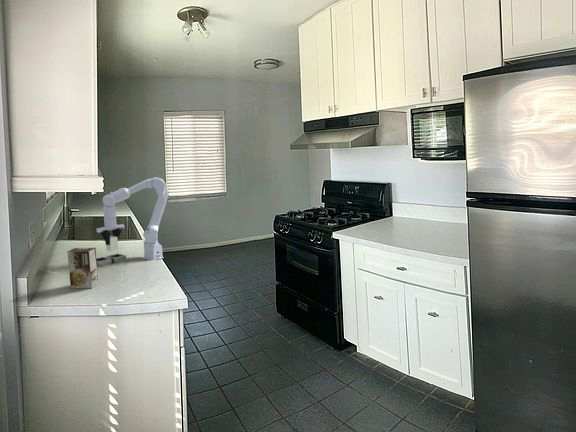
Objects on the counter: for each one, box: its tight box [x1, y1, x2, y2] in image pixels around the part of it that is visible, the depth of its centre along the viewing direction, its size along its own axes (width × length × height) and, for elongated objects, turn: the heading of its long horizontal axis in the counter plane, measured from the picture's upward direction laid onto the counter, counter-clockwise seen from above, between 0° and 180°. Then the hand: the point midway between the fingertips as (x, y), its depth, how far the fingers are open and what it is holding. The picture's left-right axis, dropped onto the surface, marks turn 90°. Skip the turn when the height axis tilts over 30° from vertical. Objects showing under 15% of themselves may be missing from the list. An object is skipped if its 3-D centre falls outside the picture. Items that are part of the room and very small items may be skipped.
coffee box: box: [66, 247, 99, 289], centre depth 164 cm, size 9×6×16 cm
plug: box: [105, 235, 119, 252], centre depth 201 cm, size 5×4×7 cm
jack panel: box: [96, 253, 127, 268], centre depth 200 cm, size 9×16×3 cm, turn 148°
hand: (111, 243), depth 201 cm, fingers closed on plug, 4 cm apart
